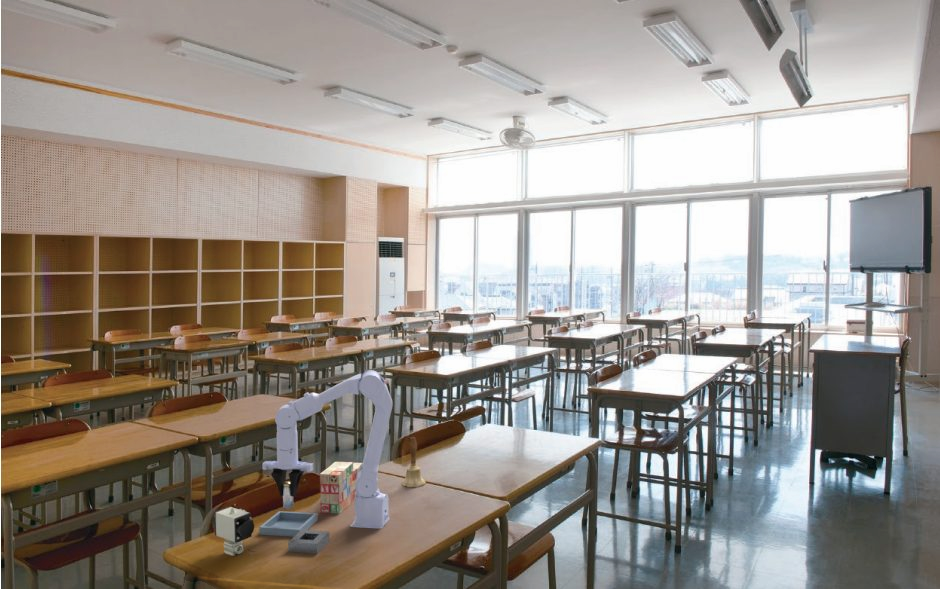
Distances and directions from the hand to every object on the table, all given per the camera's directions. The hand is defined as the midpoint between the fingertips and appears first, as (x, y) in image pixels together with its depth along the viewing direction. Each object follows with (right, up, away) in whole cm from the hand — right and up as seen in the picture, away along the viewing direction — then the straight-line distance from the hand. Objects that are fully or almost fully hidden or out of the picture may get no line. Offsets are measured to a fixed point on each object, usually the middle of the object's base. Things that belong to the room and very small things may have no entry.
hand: (288, 495), depth 186 cm
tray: (0, -10, 0) cm, 10 cm away
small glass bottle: (0, -3, 0) cm, 3 cm away
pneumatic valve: (-10, -11, -15) cm, 21 cm away
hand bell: (+32, -8, +38) cm, 51 cm away
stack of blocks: (+11, -9, +22) cm, 27 cm away
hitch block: (+9, -10, -12) cm, 18 cm away
